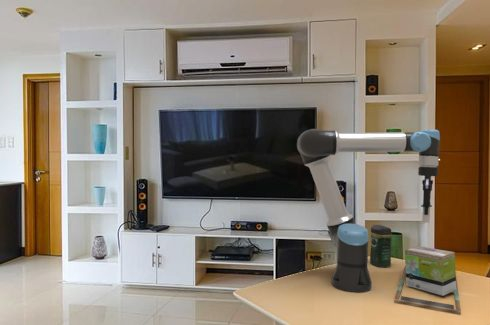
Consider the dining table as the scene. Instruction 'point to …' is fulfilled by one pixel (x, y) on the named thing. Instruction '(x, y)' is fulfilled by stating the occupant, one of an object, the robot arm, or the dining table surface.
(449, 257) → the tea box
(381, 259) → the coffee jar
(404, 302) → the tray
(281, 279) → the dining table surface
